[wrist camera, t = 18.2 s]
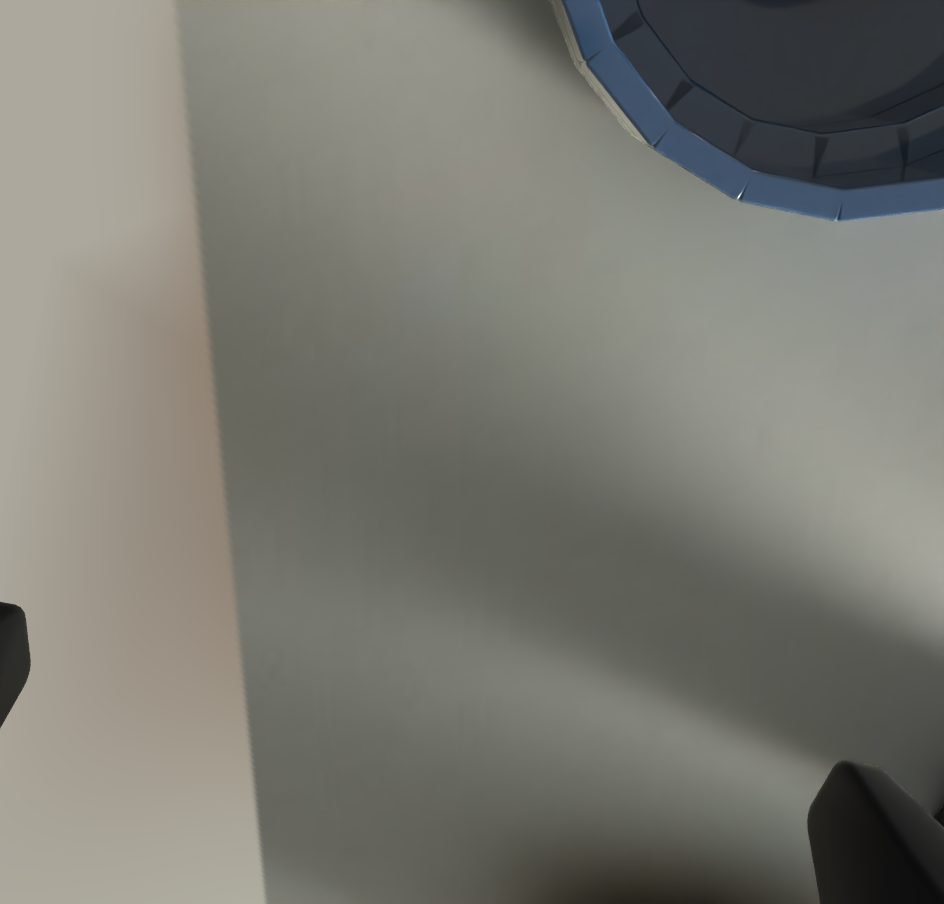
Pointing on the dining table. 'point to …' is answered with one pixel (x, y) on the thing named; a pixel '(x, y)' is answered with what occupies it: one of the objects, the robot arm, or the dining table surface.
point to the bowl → (778, 95)
